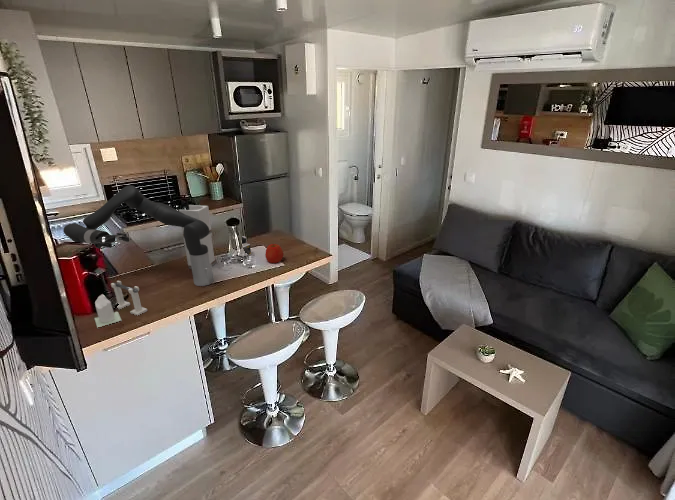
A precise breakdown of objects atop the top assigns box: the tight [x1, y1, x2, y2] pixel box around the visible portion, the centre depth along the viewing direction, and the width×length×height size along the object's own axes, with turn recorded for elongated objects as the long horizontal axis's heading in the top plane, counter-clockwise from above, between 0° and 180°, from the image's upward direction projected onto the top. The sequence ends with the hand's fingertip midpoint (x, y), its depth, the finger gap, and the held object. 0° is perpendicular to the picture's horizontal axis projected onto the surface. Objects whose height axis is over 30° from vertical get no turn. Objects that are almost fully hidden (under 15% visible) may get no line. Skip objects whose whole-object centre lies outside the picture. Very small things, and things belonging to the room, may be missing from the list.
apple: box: [264, 243, 284, 264], centre depth 215 cm, size 11×11×11 cm
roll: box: [94, 293, 115, 323], centre depth 154 cm, size 6×12×6 cm
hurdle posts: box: [110, 280, 148, 317], centre depth 163 cm, size 17×5×12 cm, turn 64°
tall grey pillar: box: [178, 204, 217, 270], centre depth 203 cm, size 11×11×35 cm
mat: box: [94, 311, 123, 329], centre depth 156 cm, size 9×9×1 cm
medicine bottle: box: [242, 236, 252, 255], centre depth 222 cm, size 7×7×12 cm
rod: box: [113, 282, 139, 293], centre depth 161 cm, size 16×1×1 cm, turn 64°
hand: (120, 242), depth 166 cm, fingers open, 8 cm apart
